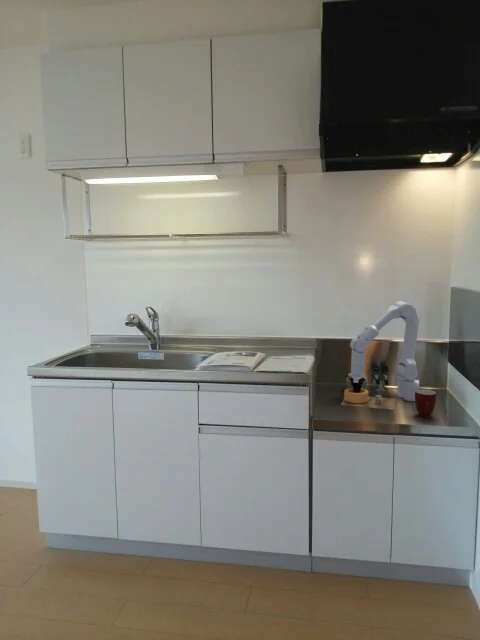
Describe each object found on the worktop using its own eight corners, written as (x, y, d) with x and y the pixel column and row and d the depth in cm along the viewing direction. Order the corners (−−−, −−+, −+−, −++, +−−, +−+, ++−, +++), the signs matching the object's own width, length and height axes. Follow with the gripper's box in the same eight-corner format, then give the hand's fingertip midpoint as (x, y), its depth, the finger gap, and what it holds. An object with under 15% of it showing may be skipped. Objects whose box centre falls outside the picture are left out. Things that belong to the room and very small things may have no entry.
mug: (439, 421, 198) (440, 396, 196) (418, 421, 198) (419, 396, 197) (432, 412, 208) (433, 389, 207) (412, 412, 209) (413, 389, 207)
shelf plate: (395, 401, 224) (396, 391, 223) (394, 412, 209) (394, 401, 208) (345, 397, 231) (345, 387, 230) (340, 407, 216) (341, 396, 215)
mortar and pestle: (367, 397, 230) (367, 371, 229) (346, 396, 232) (346, 370, 231) (366, 390, 241) (367, 366, 240) (346, 389, 243) (347, 365, 242)
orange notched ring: (368, 397, 225) (369, 388, 224) (366, 403, 215) (367, 394, 215) (346, 395, 228) (346, 387, 227) (343, 401, 219) (343, 392, 218)
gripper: (350, 360, 232) (350, 389, 233) (346, 367, 218) (346, 398, 220) (366, 361, 229) (365, 390, 231) (363, 368, 216) (362, 399, 218)
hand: (357, 394), depth 225 cm, fingers closed on orange notched ring, 2 cm apart
